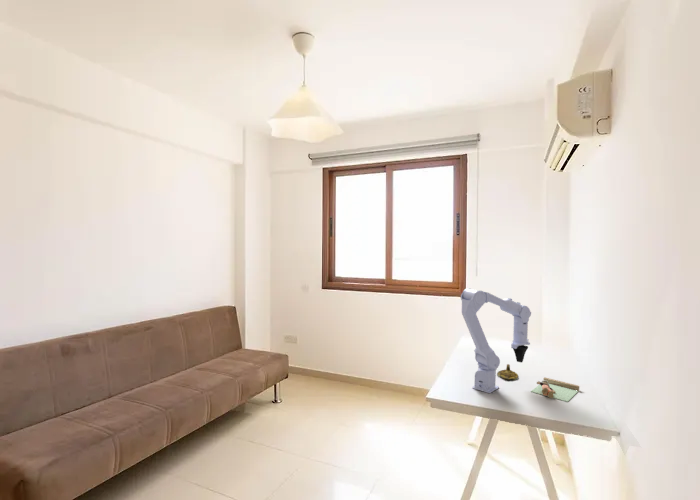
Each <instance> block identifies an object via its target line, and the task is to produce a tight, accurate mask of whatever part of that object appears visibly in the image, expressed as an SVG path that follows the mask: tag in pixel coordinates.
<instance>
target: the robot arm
mask: <svg viewBox="0 0 700 500" xmlns="http://www.w3.org/2000/svg"><path fill="white" fill-rule="evenodd" d="M460 300H461V315H462V317H463V319H464V322H465V324H466V327H467V329H468V331H469V334H470V337H471V339H472V341H473V344H474V346H475V349H474V350H473V351H474V354H475V355H474V358H475V361H476V362H477V367H478V368H477V371H476V372H475V373H474V385H473V386H472V389H475V390H478V391H482V392H485V393H487V394H491V393H492V392H494V391H496V390H498V389H499V388H500V386H498V385H496V383H497V381H496V380H497V379H496V376H497V368H499V366H500V363H501V360H500V357H499V356H498V355H496V353H495V351H494V350H493V349H492V347H491V346H490V345H489V343H488V340H487V337H486V335H485V333H484V331H483V327H482V326H481V323H480V320H479V318H478V316H477V313H478V312H479V311H480V309H481V308H482V307H483V306H484V305H485V304H487V303H491V304H493V305H496V306H498V307H499V309H500V311H503V312H505V313H508V314H510V315H512V317H513V334H512V337H513V338H512V339H513V340H512V342H511V349H513V352H514V355H515V359H516V360H515V361H516V362H517V363H520V364H521V363H523V362H524V359H525V354H526V352H527V350H528V348H529V346H530V345H531V342H530V341H529V339H528V331H529V330H528V327H529V326H528V324H529V320H530V317H531V315H532V311H531V310H530V308H529V306H527V305H523V304H521V302H518V301H517V302H516V301H515V300H514V301H513V299H512V298H511V297H507V298H503V299H502V298H500V297H498V296H497V295H494V294H491V292H486V291H484V290H477V289H472V288H467V287H466V288H465V289H464V290H463V291H462V293H461V294H460Z"/></svg>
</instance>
